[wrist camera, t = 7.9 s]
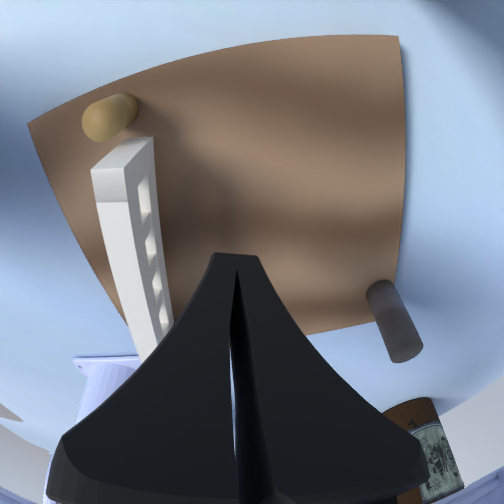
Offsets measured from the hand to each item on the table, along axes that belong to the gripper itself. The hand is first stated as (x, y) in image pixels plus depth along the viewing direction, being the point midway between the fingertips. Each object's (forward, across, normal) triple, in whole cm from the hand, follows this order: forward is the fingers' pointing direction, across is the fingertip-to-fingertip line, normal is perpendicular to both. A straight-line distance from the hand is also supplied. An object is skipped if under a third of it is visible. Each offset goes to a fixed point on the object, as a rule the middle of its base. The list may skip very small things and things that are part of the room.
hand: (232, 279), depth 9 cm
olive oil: (+8, -26, +30) cm, 40 cm away
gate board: (+7, 0, +2) cm, 7 cm away
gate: (+5, +4, +3) cm, 7 cm away
